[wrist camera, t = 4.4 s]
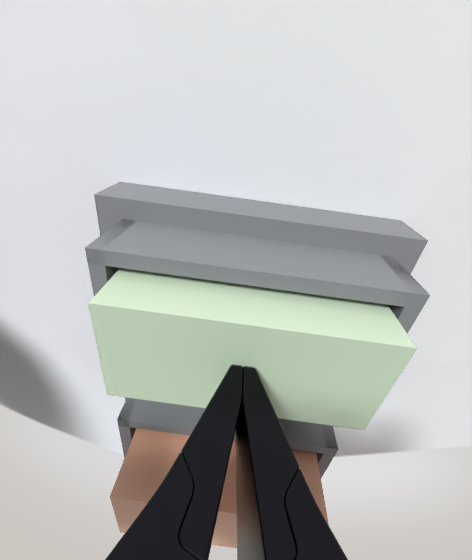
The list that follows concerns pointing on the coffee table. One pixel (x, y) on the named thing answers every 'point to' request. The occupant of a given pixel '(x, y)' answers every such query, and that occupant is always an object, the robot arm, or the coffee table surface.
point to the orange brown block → (156, 464)
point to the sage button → (247, 345)
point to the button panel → (252, 269)
